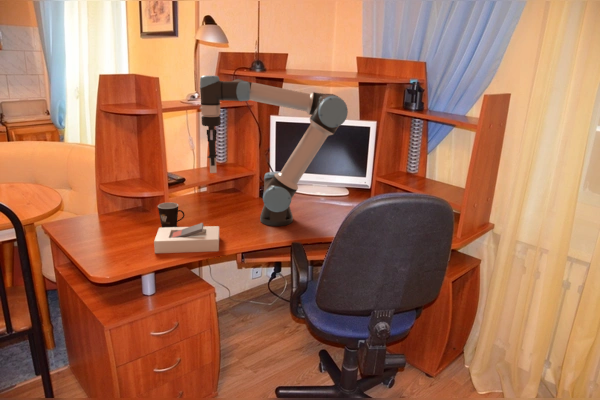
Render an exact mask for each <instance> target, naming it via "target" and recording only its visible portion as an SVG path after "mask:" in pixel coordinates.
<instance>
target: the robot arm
mask: <svg viewBox="0 0 600 400" xmlns="http://www.w3.org/2000/svg"><path fill="white" fill-rule="evenodd" d="M199 86H200V87H199V93H200V95H199V97H200V107H199V110H200V113H201V115H202V116H201V118H200V119H201V125H202V126H203V127H208V128H207V129H206V135H207V136H206V138H207V142H208V151H209V152H208V153H209V155H208V156H207V159H209V173H210V174H217V173H218V172H217V157H218V154H217V151H216V142H217V132H218V131H217V130H218V129H215V127H219V126H221V125H222V123H221V121H222V120H221V116H220V115H221V113H222V112H221V102H223V101H227V102H228V101H229V102H231V101H234V102H249V101H253V102H258V103H261V104H267V105H273V106H277V107H283V108H286V109H292V110H296V111H303V112H306V114H307V115H311V116H310V118H309V122H310V124H309V126H308V127H307V129H306V131H305V132H304V133H303V136H302V137H301V139H300V140H299V142H298V144H297V145H296V147H295V148H294V150H293V151H292V153H291V154H290V156H289V158H288V159H287V161H286V163H284V166H283V167H282V169H281V171H270V172H269V171H268V172H266V173H265V174H264V177H263V180H264V182H263V183H264V188H263V194H262V201H263V207H262V209H261V212H260V213H261V214H260V217H259V218H260V219H259V220H260V223H262V224H263V225H266V226H269V227H270V226H271V227H284V226H288V225H291V224H292V223H293V220H294V219H293V218H294V216H293V212H292V210H291V203H292V199H293V197H294V195H295V194H296V193H297V191H298V189H299V186H298V183H299V181H300V180H301V178H302V177H303V175H304V174H305V172H306V171H307V169H308V167H309V166H310V164H311V163H312V162H313V160H314V158H315V157H316V155H317V154H318V152H319V151H320V149H321V148H322V145H324V143H325V142H326V140H327V138H328V137H329V136H332V135H333V136H334V134H335V133H336V132H337V129H338V128H339V127H340V126H342V125H343V124H344V123H345V121H346V120H347V118H348V113H349V111H348V105H347V104H346V103H347V102H345V100H344V99H343V98H342V97H340V96H338V95H336V94H333V93H321V92H316V91H312V92H310V93H307V92H302V91H298V90H292V89H288V88H287V89H286V88H282V87H276V86H272V85H267V84H262V83H257V82H251V81H247V80H243V79H241V78H236V79H234V80H231V81H228V80H226V81H225V80H223V81H222V80H220V76H219V75H201V76H200V79H199Z"/></svg>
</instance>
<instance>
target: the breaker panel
mask: <svg viewBox="0 0 600 400" xmlns="http://www.w3.org/2000/svg"><path fill="white" fill-rule="evenodd" d="M188 227H189V226H177V227H165V228H162V227H158V229H157V233H156V236H155V238H154V241H153V245H154V247H153V249H154V254H172V253H173V254H174V253H175V254H177V253H204V252H219V251H220V226H218V225H217V226H215V225H213V226H211V225H210V226H209V225H207V226H206V225H204V226H203V231H202V232H199V233H197V234H194V235H191V236H188V237H179V238H171V236H172V233H173V232H176V231H179V230H182V229H185V228H188Z"/></svg>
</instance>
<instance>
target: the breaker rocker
mask: <svg viewBox="0 0 600 400" xmlns="http://www.w3.org/2000/svg"><path fill="white" fill-rule="evenodd" d="M204 226H205V225H204V222H200V223H198V224H194V225H192V226H187V227H188V228H185V229H182V230H179V231H176V232H173V233H172V236H171V238H179V237H188V236H191V235H194V234H197V233H199V232H202V231H203V227H204Z"/></svg>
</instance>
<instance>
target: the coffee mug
mask: <svg viewBox="0 0 600 400" xmlns="http://www.w3.org/2000/svg"><path fill="white" fill-rule="evenodd" d="M157 211H158V215H159V220H160V224H161V228H165V227H178V222H180V221H182V220H183V219H184V218H185V216H186V214H185V212H184V211H183V210H181V209H179V204H178V203H177V202H171V201H170V202H162V203H159V204H158V205H157ZM179 212H180V213H182V217H181V218H180V219H178V217H179V215H178V213H179Z"/></svg>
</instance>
